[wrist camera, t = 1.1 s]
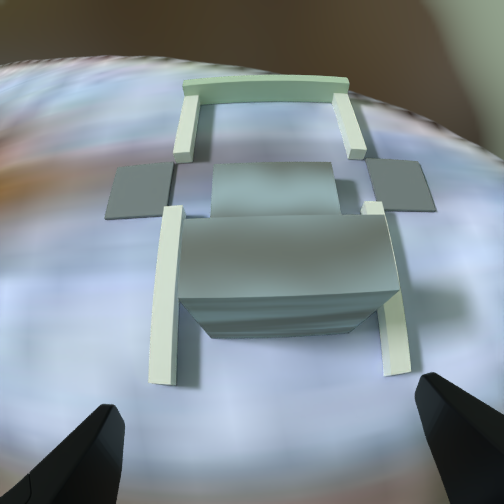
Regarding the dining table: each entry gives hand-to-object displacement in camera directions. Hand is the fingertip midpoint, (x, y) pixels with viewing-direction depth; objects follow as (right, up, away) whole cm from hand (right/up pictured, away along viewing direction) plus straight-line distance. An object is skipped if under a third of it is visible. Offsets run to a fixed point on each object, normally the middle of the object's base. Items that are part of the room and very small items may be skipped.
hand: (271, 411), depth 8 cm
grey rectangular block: (+1, +5, +18) cm, 18 cm away
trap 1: (+14, +11, +20) cm, 26 cm away
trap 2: (-11, +10, +20) cm, 25 cm away
